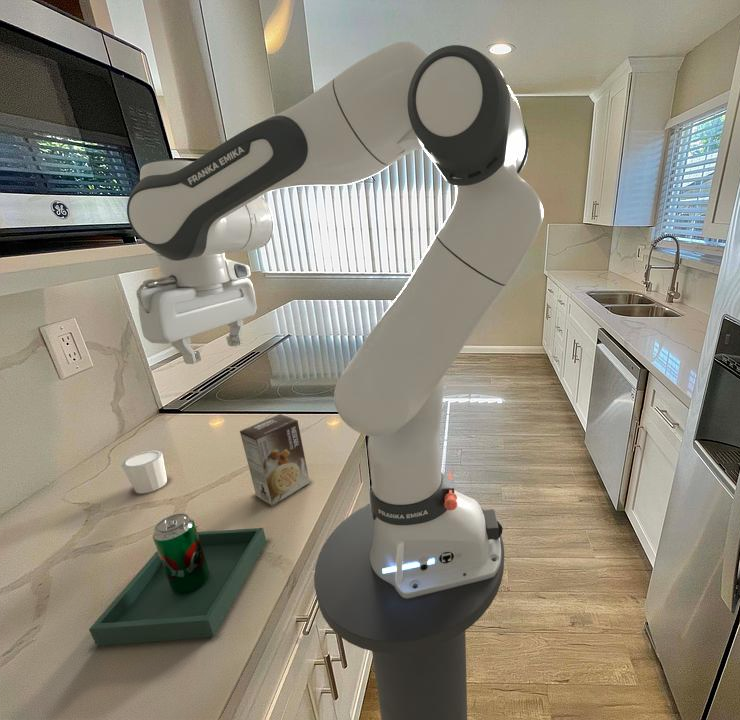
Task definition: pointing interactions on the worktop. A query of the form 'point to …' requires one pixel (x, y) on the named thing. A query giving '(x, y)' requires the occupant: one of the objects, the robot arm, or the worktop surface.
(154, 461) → the white cup
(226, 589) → the tray
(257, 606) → the worktop surface
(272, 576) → the worktop surface
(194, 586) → the soda can
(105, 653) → the worktop surface
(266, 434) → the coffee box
